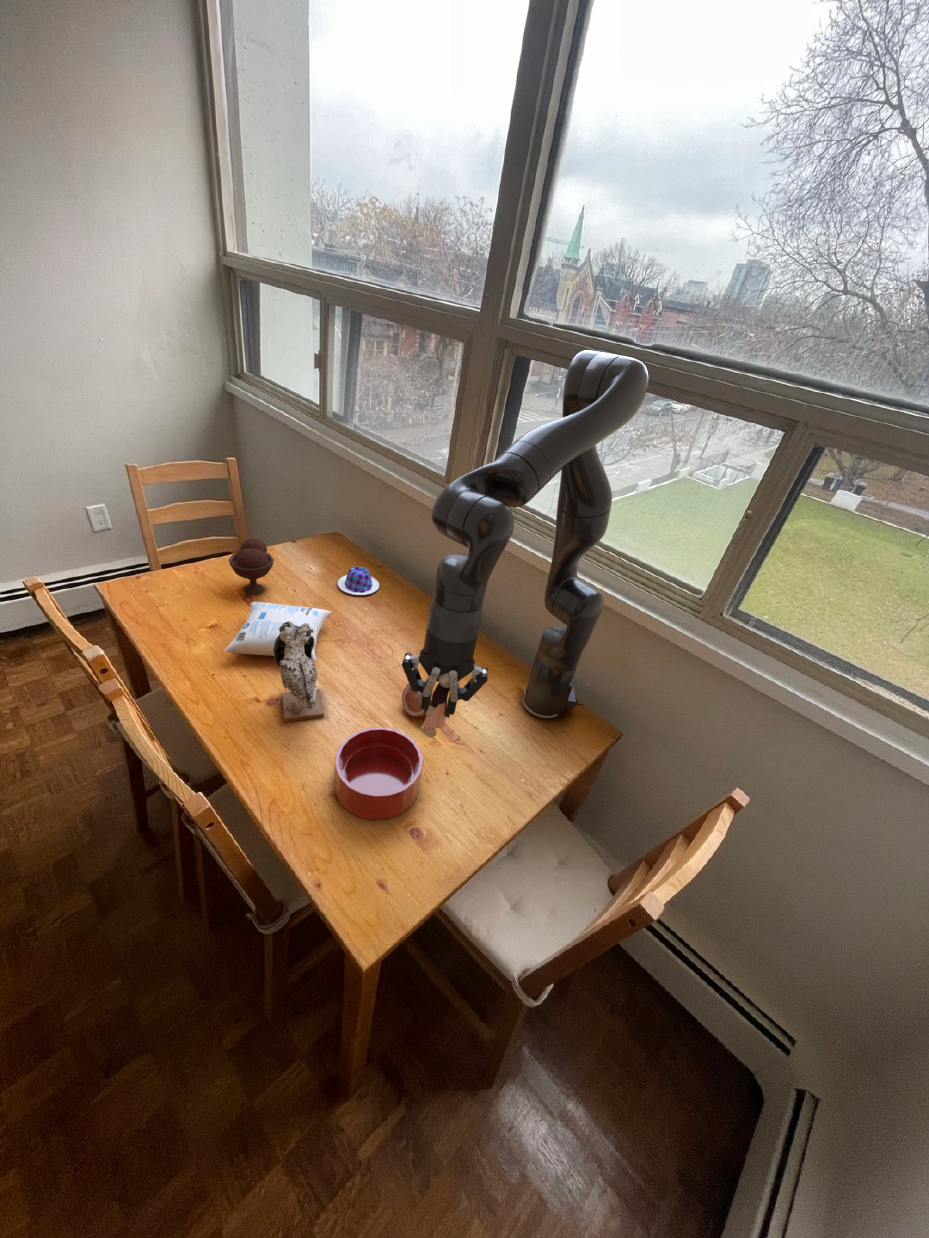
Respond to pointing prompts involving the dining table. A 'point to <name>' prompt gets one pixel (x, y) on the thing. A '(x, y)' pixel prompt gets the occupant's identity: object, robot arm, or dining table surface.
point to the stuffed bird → (297, 672)
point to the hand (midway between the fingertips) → (437, 711)
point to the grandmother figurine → (437, 707)
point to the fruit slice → (412, 702)
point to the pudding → (358, 582)
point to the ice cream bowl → (252, 564)
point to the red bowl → (377, 772)
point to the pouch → (273, 627)
